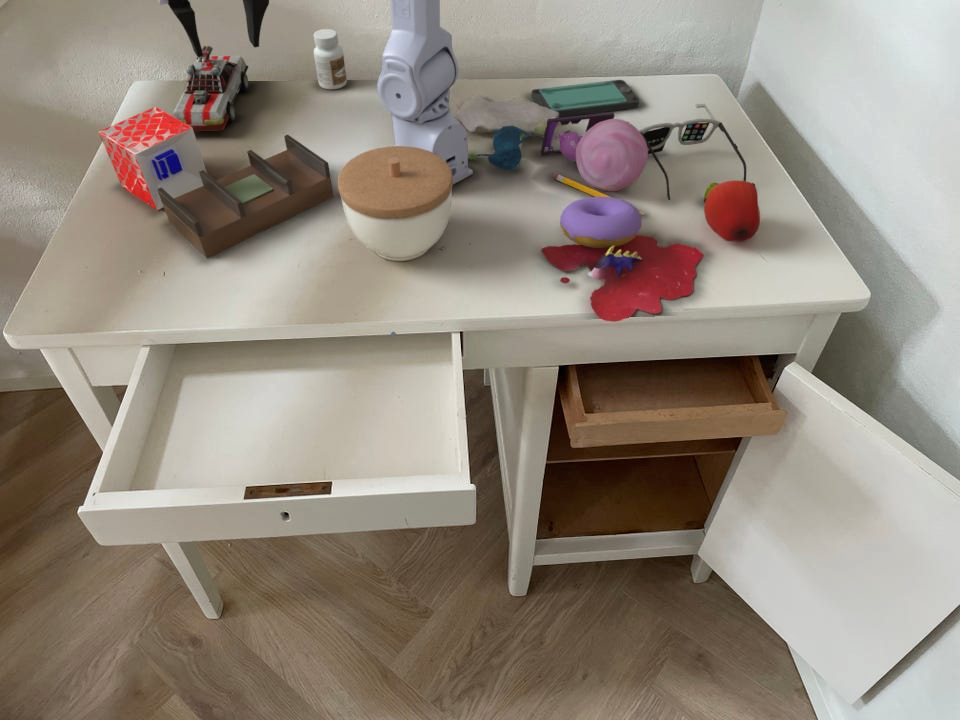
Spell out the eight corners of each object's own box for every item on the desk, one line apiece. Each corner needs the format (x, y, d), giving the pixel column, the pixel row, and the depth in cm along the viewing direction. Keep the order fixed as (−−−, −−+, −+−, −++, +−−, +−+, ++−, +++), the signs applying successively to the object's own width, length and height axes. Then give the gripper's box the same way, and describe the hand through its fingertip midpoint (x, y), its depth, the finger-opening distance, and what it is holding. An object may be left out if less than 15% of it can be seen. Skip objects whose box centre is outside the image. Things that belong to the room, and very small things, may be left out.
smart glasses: (696, 128, 101) (708, 99, 97) (741, 201, 94) (756, 173, 90) (618, 138, 99) (627, 108, 95) (659, 214, 92) (671, 185, 88)
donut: (632, 255, 78) (627, 213, 76) (553, 259, 83) (546, 219, 80) (651, 223, 86) (647, 184, 84) (578, 228, 90) (572, 191, 88)
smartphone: (641, 100, 106) (545, 111, 103) (639, 107, 107) (544, 119, 104) (622, 77, 111) (530, 87, 108) (621, 85, 112) (529, 95, 109)
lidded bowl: (456, 274, 81) (454, 192, 73) (345, 279, 80) (330, 196, 72) (452, 208, 89) (449, 128, 81) (351, 212, 89) (338, 131, 81)
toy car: (172, 139, 100) (154, 87, 94) (204, 78, 112) (190, 29, 107) (227, 139, 100) (212, 87, 95) (253, 78, 112) (241, 29, 107)
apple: (786, 226, 81) (761, 164, 86) (747, 205, 78) (724, 142, 83) (732, 264, 87) (712, 203, 92) (694, 246, 83) (675, 184, 88)
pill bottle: (341, 91, 110) (334, 41, 104) (314, 88, 110) (305, 38, 104) (351, 78, 113) (344, 28, 107) (324, 75, 113) (316, 26, 107)
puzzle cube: (174, 161, 96) (155, 106, 91) (210, 182, 93) (192, 127, 87) (121, 187, 92) (97, 131, 86) (156, 210, 89) (134, 154, 83)
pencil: (557, 175, 94) (556, 172, 93) (646, 213, 88) (646, 210, 88) (554, 180, 94) (553, 176, 93) (643, 218, 88) (643, 215, 88)
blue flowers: (477, 161, 101) (472, 193, 96) (463, 137, 98) (458, 168, 93) (555, 129, 96) (555, 161, 91) (543, 104, 94) (542, 135, 89)
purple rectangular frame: (612, 107, 93) (546, 114, 92) (623, 139, 91) (555, 146, 90) (601, 142, 99) (538, 148, 98) (610, 172, 98) (547, 179, 96)
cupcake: (630, 94, 91) (616, 112, 83) (667, 151, 93) (656, 173, 85) (574, 135, 96) (556, 155, 88) (610, 188, 98) (596, 212, 90)
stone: (472, 91, 107) (569, 100, 102) (472, 113, 109) (567, 123, 104) (443, 109, 99) (547, 120, 94) (444, 133, 101) (546, 145, 96)
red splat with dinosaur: (655, 236, 91) (665, 203, 88) (729, 302, 81) (744, 268, 78) (532, 255, 84) (539, 220, 81) (598, 329, 74) (609, 293, 71)
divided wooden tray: (334, 196, 91) (328, 162, 87) (206, 258, 83) (194, 223, 79) (295, 168, 95) (287, 134, 92) (170, 223, 87) (156, 189, 83)
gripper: (254, -79, 92) (268, 26, 102) (136, -67, 86) (163, 43, 96) (273, -57, 88) (286, 49, 98) (151, -43, 82) (178, 68, 93)
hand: (226, 48), depth 97 cm, fingers open, 7 cm apart
